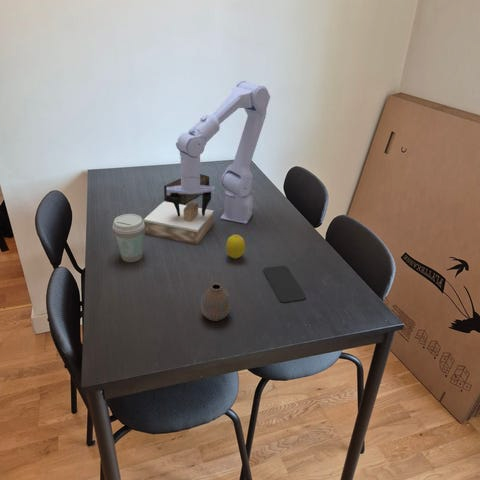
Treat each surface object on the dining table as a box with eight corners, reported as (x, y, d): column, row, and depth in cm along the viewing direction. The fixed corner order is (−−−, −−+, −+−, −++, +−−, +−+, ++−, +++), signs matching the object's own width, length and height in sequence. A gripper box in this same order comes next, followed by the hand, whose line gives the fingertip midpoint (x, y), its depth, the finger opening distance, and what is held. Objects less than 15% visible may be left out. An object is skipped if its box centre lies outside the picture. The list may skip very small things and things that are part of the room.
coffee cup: (111, 254, 112) (106, 218, 106) (138, 245, 117) (135, 210, 111) (124, 268, 107) (120, 230, 101) (152, 258, 112) (149, 222, 106)
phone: (280, 302, 98) (261, 268, 110) (280, 305, 98) (261, 270, 110) (307, 298, 100) (286, 265, 112) (307, 301, 100) (285, 267, 112)
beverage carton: (210, 190, 155) (210, 174, 152) (180, 207, 141) (179, 190, 138) (194, 185, 159) (194, 169, 155) (163, 201, 144) (162, 185, 141)
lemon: (240, 251, 117) (241, 228, 113) (247, 261, 113) (248, 238, 109) (222, 254, 115) (223, 231, 111) (229, 264, 111) (230, 241, 107)
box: (213, 224, 131) (213, 213, 129) (197, 244, 120) (197, 233, 117) (164, 214, 135) (164, 204, 133) (144, 233, 124) (143, 222, 121)
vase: (195, 317, 92) (194, 288, 87) (212, 302, 97) (213, 273, 92) (218, 329, 89) (219, 300, 84) (235, 313, 94) (237, 284, 89)
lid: (213, 212, 129) (213, 199, 126) (197, 232, 117) (197, 218, 115) (164, 203, 133) (163, 190, 130) (143, 221, 121) (142, 207, 119)
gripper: (213, 169, 121) (212, 208, 128) (165, 169, 118) (167, 209, 125) (215, 177, 115) (214, 218, 122) (165, 178, 112) (167, 219, 119)
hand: (191, 214), depth 123 cm, fingers open, 7 cm apart
